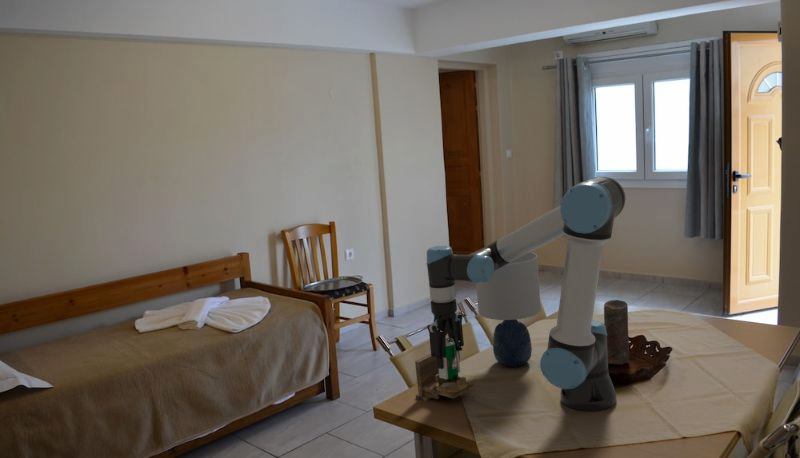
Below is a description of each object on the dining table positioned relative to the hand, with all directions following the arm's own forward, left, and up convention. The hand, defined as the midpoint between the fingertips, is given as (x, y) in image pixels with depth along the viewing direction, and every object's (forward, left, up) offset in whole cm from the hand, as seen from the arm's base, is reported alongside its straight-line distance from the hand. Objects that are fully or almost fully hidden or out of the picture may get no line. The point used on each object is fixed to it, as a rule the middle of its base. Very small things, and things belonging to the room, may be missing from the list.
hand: (449, 374), depth 192 cm
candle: (-29, -49, -8) cm, 57 cm away
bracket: (+2, 0, -8) cm, 8 cm away
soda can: (0, 0, -1) cm, 1 cm away
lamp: (0, -33, -8) cm, 33 cm away
